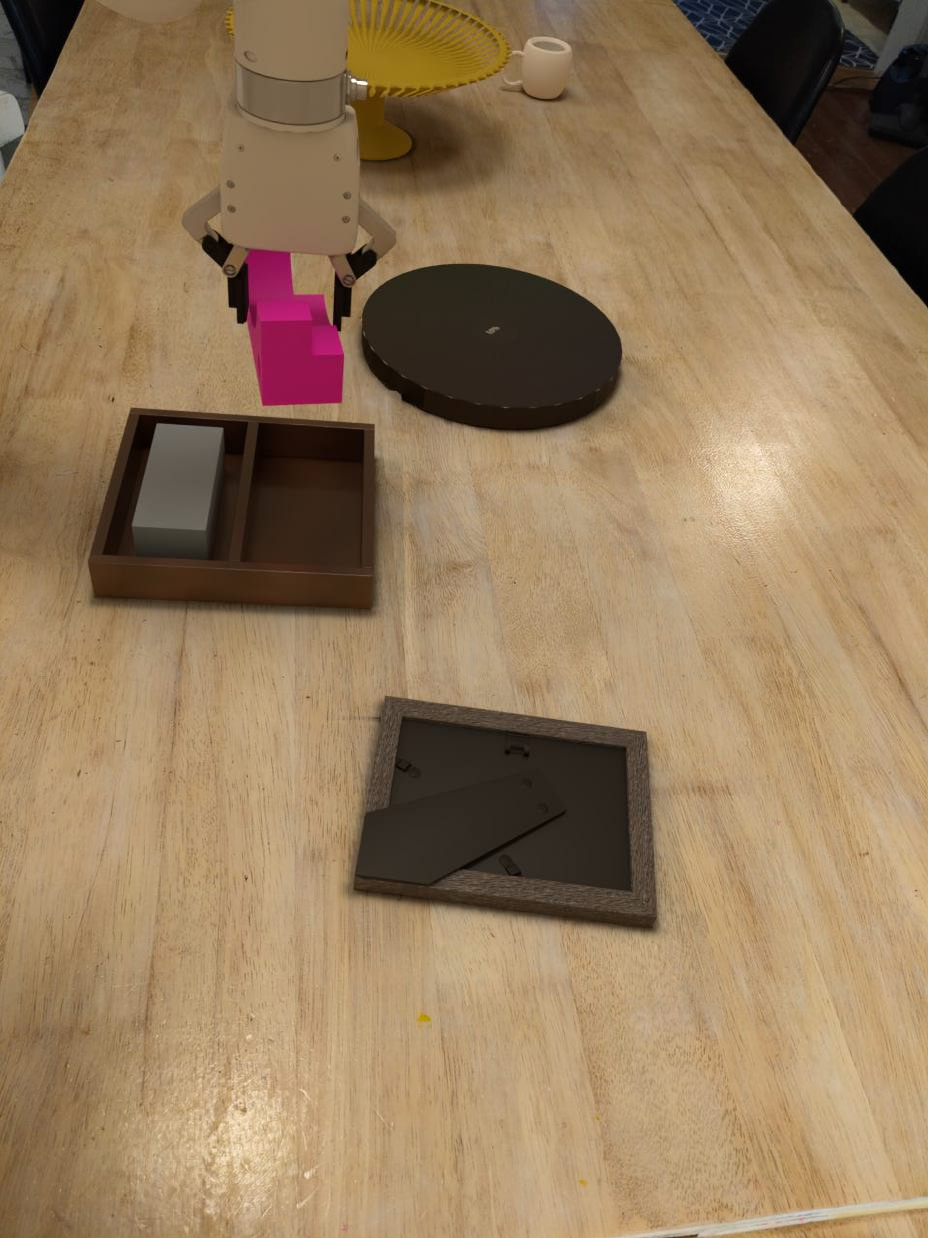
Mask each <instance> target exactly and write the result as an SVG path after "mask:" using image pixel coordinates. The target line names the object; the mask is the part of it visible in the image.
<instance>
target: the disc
mask: <svg viewBox="0 0 928 1238" xmlns="http://www.w3.org/2000/svg"><path fill="white" fill-rule="evenodd" d="M360 321H361V338H360V339H361V346H362V353H363V356H364V359H365V361H366V362H367V364H368V366H369V368H370V370H371V371H372V372H373V373H374V375H375V376H376V377H377V379H379V380H380V382H382V384H383V385H385V386H386V387H387V388H389V389H390V390H391V391H392V392H397V393H398V394H399V395H400V397H401V398H402V399H404V400H405V401H408V402H410V403H411V404H413V405H415V406H416V407H419V408H420V409H422V410H424V411H427V412H430V413H431V414H432V413H433V414H435V415H437V416H440V417H442V418H445V419H448V420H453V421H457V422H461V423H465V424H469V425H473V426H479V427H489V428H495V429H516V430H517V429H521V430H522V429H526V430H527V429H529V430H530V429H536V428H537V429H538V428H544V427H553V426H556V425H560V424H564V423H567V422H571V421H574V420H576V419H578V418H581V417H582V416H584V415H587V414H589V413H591V412H592V411H594V410H595V409H596V408H597V407H599V406H601V404H602V403H603V402H605V401H606V399H607V398H608V397H609V395H610V394H611V392H612V390H613V389H614V387H615V383H616V380H617V376H618V372H619V368H620V367H621V363H622V358H623V353H624V352H623V345H622V339H621V336H620V335H619V333H618V330H617V329H616V326H615V325H614V323H612V321H611V319H610V318H609V317H608V316H607V315H606V314H605V312H604V311H602V310H601V309H600V308H598V307H597V306H596V305H595V304H594V303H593V302H592V301H590V300H589V299H587V298H586V297H585V296H583V295H581V294H579V293H578V292H576V291H575V290H573V289H571V288H570V287H567V286H565V285H562V284H560V283H559V282H556V281H554V280H552V279H549V278H546V277H543V276H541V275H538V274H534V273H531V272H528V271H524V270H519V269H516V268H511V267H507V266H499V265H492V264H485V263H460V262H459V263H445V264H444V263H443V264H434V265H429V266H424V267H419V268H418V267H417V268H414V269H412V270H408V271H405V272H403V273H400V274H397V275H395V276H393V277H392V278H390V279H388V280H386V281H384V282H382V283H381V285H379V286H378V287H377V288H376V289H374V290H373V292H371V293H370V295H369V297H368V298H367V299H366V301H365V303H364V304H363V309H362V314H361V319H360Z"/></svg>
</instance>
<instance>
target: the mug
mask: <svg viewBox="0 0 928 1238" xmlns="http://www.w3.org/2000/svg"><path fill="white" fill-rule="evenodd" d="M510 51H511V52H513V53H512V54H510V55H509V56H511V57H513V56H518V57H521V60H520V79H518V80H516V81H509V80H508V79H507V78H506V74H505V68H506V67H504V68H502V69H501V70H503V71H501V72H499V77H500V80H501V82H502V83H503V84H504V85H505V86H507V87H513V88H514V87H518V86H520V85H522V88H523V90H524V92H525V93H526V94H527V95H529V96H530V97H533V98H537V99H541V100H553V99H557V98H558V97H559V96H560V95H561V94H562V93H563V91H564V90H565V88H566V85H567V83H568V80H569V78H570V74H571V70H572V64H573V48H572V46H571V45H570V44H568V43H567V42H566V41H563V40H562V39H559V38H555V37H551V36H550V37H549V36H534V37H531V38H528V39H527V41H526V43H525V44H524V47H523V50H522V51H521V50H518V49H517V50H510ZM505 65H506V66H507V64H505Z"/></svg>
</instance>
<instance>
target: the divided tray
mask: <svg viewBox="0 0 928 1238" xmlns="http://www.w3.org/2000/svg"><path fill="white" fill-rule="evenodd" d="M157 423H159V424H174V425H189V426H204V427H219V428H223V429H224V446H225V463H226V472H225V478H224V484H223V491H222V497H221V503H220V509H219V515H218V521H217V528H216V534H215V540H214V546H213V552H212V558H211V560H194V559H174V558H154V557H136V551H135V544H134V538H133V531H132V523H133V519H134V515H135V511H136V507H137V502H138V498H139V494H140V490H141V486H142V482H143V478H144V474H145V470H146V466H147V462H148V458H149V454H150V449H151V445H152V441H153V437H154V433H155V429H156V425H157ZM375 434H376V423H366V422H354V421H353V422H351V421H336V420H324V419H323V420H322V419H307V418H292V417H277V416H266V415H265V416H264V415H263V416H262V415H248V414H234V413H220V412H219V413H216V412H205V411H191V410H190V411H189V410H175V409H159V408H146V407H130V408H129V411H128V416H127V419H126V423H125V426H124V430H123V434H122V437H121V441H120V444H119V448H118V450H117V451H118V452H117V454H116V459H115V462H114V466H113V469H112V473H111V476H110V480H109V484H108V487H107V491H106V494H105V498H104V501H103V505H102V509H101V512H100V516H99V519H98V523H97V527H96V530H95V533H94V538H93V541H92V544H91V548H90V552H89V555H88V560H87V566H88V572H89V577H90V581H91V586H92V592H93V596H94V598H100V599H101V598H106V599H123V600H124V599H127V600H147V601H148V600H149V601H151V600H152V601H170V602H171V601H172V602H193V603H215V604H234V605H235V604H237V605H260V606H281V607H282V606H283V607H301V608H303V607H305V608H324V609H325V608H326V609H347V610H348V609H350V610H370V611H371V610H372V599H373V589H374V587H373V586H374V573H375V572H374V568H375V567H374V565H375V564H374V563H375V561H374V560H375V559H374V557H375V553H374V552H375V457H376V454H375V443H376V440H375V439H376V438H375V437H376V435H375Z"/></svg>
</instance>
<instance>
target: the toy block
mask: <svg viewBox="0 0 928 1238" xmlns="http://www.w3.org/2000/svg"><path fill="white" fill-rule="evenodd" d="M291 256H292V253H288V252H277V251H267V250H256V249H251V251H250V252H249V254H248V256H247V258H246V260H245V261H246V263H248V281H249V309H248V315H247V322H246V324H247V329H248V334H249V340H250V345H251V351H252V356H253V361H254V368H255V372H256V378H257V383H258V388H259V389H258V390H259V394H260V400H261V405H262V407H274V406H275V407H277V406H297V405H299V406H300V405H304V406H305V405H325V404H326V405H329V404H343V390H344V369H345V352H344V348H343V344H342V341H341V337H340V335H339V332H338V330H337V327H336V325H333V324H331V321H330V319H329V315H328V310H327V305H326V299H325V294H323V293H316V294H314V293H313V294H309V293H307V294H306V293H305V294H304V293H303V294H302V293H301V294H295V293H294V283H293V270H292V257H291Z"/></svg>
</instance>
